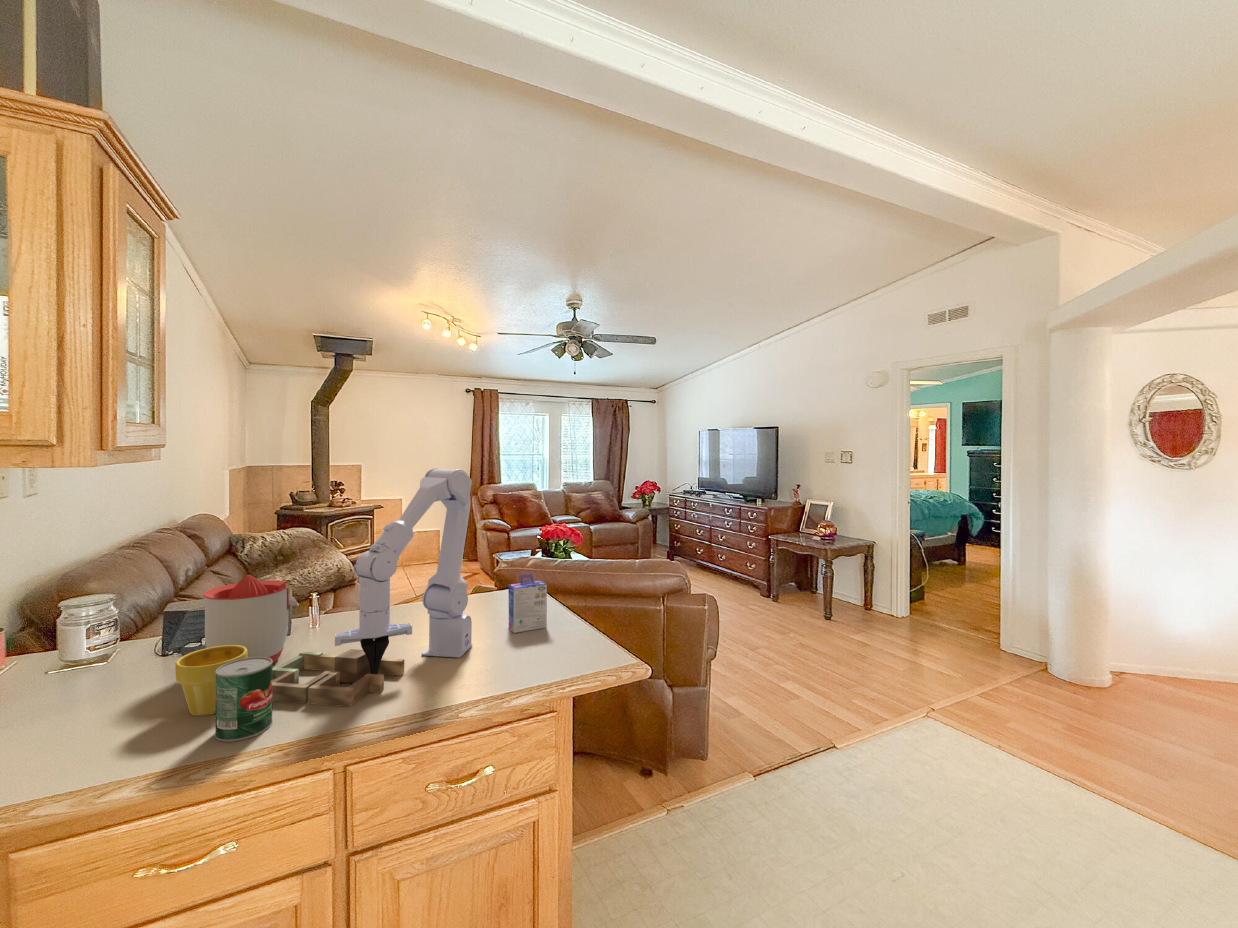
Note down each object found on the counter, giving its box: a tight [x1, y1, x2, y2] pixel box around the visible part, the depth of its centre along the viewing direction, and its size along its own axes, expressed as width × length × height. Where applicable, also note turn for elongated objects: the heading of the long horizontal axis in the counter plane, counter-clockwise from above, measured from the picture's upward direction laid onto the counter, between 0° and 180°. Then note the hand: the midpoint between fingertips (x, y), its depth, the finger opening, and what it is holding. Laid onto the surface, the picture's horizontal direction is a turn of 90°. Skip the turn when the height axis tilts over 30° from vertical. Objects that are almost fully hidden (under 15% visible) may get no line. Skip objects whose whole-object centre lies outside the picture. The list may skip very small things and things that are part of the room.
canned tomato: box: [214, 657, 274, 743], centre depth 86 cm, size 8×8×11 cm
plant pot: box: [174, 645, 248, 717], centre depth 93 cm, size 10×10×10 cm
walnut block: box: [334, 648, 371, 684], centre depth 106 cm, size 5×5×5 cm
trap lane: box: [272, 650, 405, 708], centre depth 103 cm, size 24×15×3 cm, turn 84°
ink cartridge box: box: [507, 573, 548, 634], centre depth 139 cm, size 10×6×14 cm, turn 120°
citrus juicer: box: [203, 574, 299, 664], centre depth 113 cm, size 16×17×20 cm
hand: (374, 673), depth 106 cm, fingers closed
